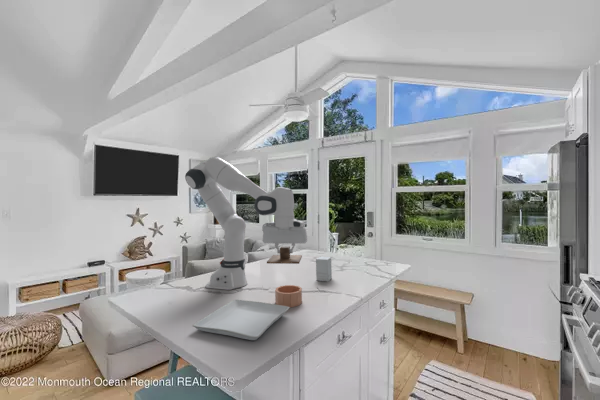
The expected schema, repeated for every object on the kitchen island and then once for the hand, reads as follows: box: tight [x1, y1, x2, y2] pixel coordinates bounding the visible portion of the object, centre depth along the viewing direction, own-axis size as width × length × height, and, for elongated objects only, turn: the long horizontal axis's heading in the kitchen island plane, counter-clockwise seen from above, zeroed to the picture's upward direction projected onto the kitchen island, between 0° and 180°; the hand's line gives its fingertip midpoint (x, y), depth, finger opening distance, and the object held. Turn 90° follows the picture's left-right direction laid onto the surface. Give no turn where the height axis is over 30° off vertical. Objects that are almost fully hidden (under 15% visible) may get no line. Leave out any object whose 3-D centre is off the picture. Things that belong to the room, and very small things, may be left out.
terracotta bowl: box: [274, 284, 303, 308], centre depth 131 cm, size 12×12×6 cm
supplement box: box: [315, 256, 333, 282], centre depth 166 cm, size 7×7×13 cm
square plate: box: [192, 299, 291, 341], centre depth 110 cm, size 27×27×4 cm
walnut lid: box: [266, 245, 303, 265], centre depth 129 cm, size 14×14×6 cm
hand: (285, 253), depth 129 cm, fingers closed on walnut lid, 4 cm apart
